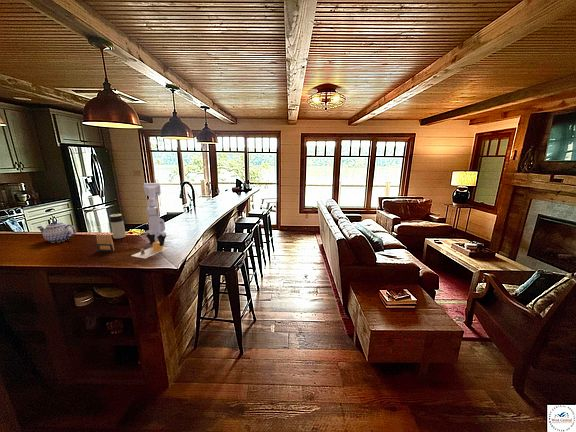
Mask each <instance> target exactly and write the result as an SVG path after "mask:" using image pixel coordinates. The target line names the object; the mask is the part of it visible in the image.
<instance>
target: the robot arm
mask: <svg viewBox="0 0 576 432" xmlns="http://www.w3.org/2000/svg"><path fill="white" fill-rule="evenodd" d="M143 190H144V194H145V195H146V196H147V197H148V199H147V200H146V201H147V202H146V203H147V206H146V207H147V208H146V209H145V210H146V211H145V212H146V216H147V219H148V230H146V231H145V234H146V235H145V237H146V239H148V241H149V243H150V245H151V246H153V244H152V243H153V242H156V241H159V243H160V246H163V247H164V245H165V244H164V243H165V242H166V241H165V239H167V238H166V237H167V233H166V232H165V231H166V223H165V220H164V219H163V218H160V212H159V211H160V210H159V203H158V197H159V196H160V195H161V193H162V192H161V184H160V182H148V183H147V182H144V183H143Z"/></svg>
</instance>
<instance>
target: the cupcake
mask: <svg viewBox="0 0 576 432" xmlns="http://www.w3.org/2000/svg"><path fill="white" fill-rule="evenodd" d="M152 244H153V245H152V247H153V251H161V250H163V247H164V245H163V246H160V243H159V241H156V242H153V243H152ZM163 251H164V250H163ZM161 252H162V251H161Z"/></svg>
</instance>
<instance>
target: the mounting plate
mask: <svg viewBox="0 0 576 432" xmlns="http://www.w3.org/2000/svg"><path fill="white" fill-rule="evenodd" d="M167 249H168V247H167V246H163V250H161V251H153V246H151V247H148V248H146V249H145V248H140V251H139V252H137V253H134V254H131V257H136V258H140V259H148V258H149V257H151V256H154V255H157V254H159V253H161V252H163V251H165V250H167Z"/></svg>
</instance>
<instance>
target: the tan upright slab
mask: <svg viewBox="0 0 576 432" xmlns="http://www.w3.org/2000/svg"><path fill="white" fill-rule="evenodd" d="M112 237H113V236H112V235H111V234H108V233H107V234H105V233H104V234H102V233H99V234H98V233H96V247H97V251H98V252H111V253H112V252H115V251H116V247H115V243H114V242H113V238H112Z"/></svg>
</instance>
